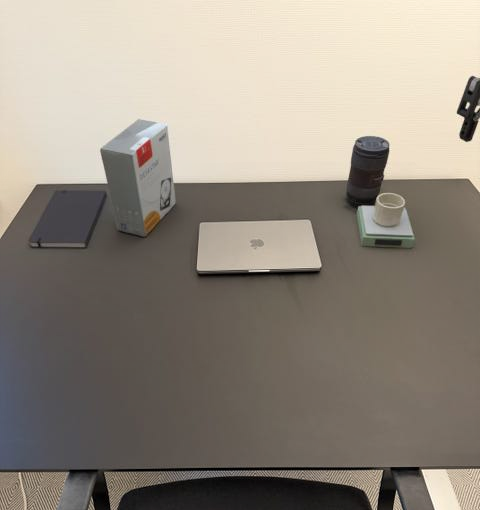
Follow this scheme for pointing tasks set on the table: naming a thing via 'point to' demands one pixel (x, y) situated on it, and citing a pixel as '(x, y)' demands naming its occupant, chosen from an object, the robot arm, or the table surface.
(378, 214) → the beige cup
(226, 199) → the table surface
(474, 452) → the table surface
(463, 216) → the table surface
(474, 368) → the table surface
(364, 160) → the camera lens
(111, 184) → the hard drive box
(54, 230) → the notebook
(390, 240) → the scale
